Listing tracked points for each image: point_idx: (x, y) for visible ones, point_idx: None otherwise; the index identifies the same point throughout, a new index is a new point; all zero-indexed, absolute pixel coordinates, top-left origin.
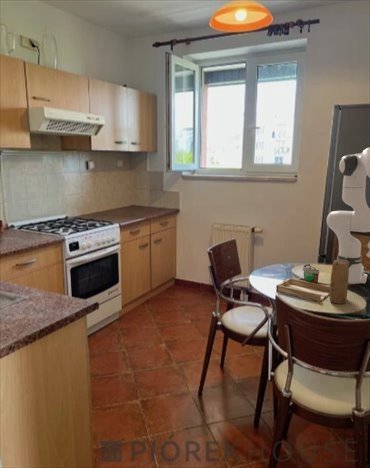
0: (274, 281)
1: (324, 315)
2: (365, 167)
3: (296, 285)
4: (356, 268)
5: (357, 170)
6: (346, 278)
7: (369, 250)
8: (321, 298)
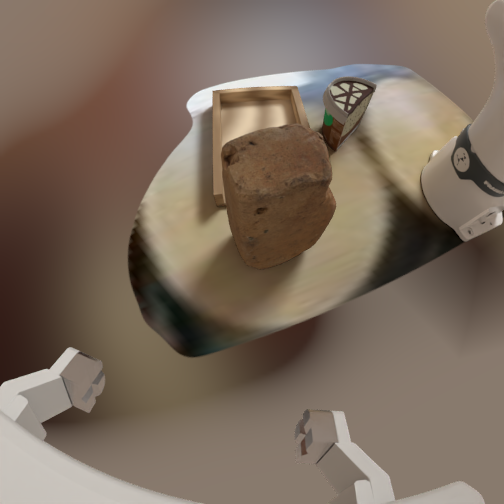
0: (282, 75)
1: (130, 261)
2: None
3: (289, 113)
4: (474, 198)
5: None
6: (243, 237)
7: (23, 378)
8: None
